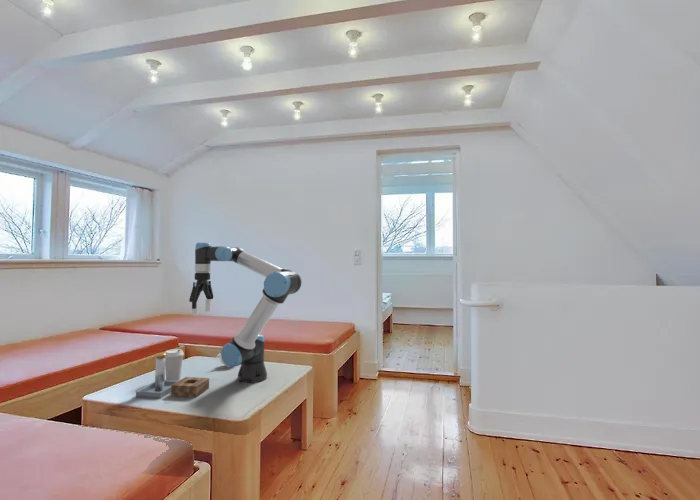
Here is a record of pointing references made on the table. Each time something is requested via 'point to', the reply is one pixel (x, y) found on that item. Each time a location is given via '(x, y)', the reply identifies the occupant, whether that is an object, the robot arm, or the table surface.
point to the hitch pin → (160, 371)
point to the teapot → (221, 359)
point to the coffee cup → (173, 364)
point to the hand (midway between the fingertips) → (201, 313)
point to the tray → (151, 393)
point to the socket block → (190, 387)
